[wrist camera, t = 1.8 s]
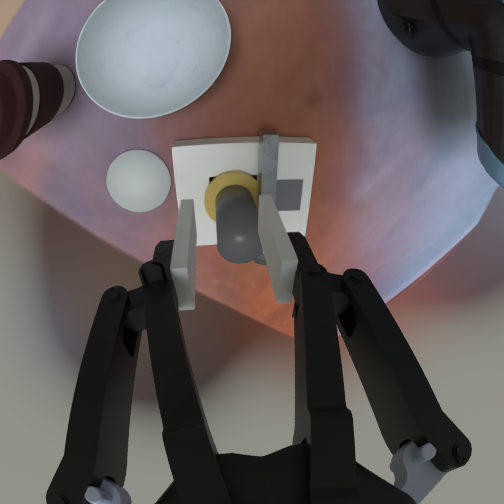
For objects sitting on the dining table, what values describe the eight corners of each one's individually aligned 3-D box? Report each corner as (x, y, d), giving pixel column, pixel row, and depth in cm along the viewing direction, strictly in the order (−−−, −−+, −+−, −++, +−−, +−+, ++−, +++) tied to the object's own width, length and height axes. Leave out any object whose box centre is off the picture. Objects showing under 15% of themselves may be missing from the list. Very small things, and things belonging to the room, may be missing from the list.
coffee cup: (86, 119, 27) (21, 159, 16) (29, 131, 26) (-39, 176, 14) (86, 47, 21) (14, 47, 10) (26, 65, 20) (-50, 84, 8)
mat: (167, 145, 32) (166, 146, 31) (174, 207, 37) (174, 209, 37) (102, 154, 31) (101, 155, 30) (114, 213, 36) (114, 215, 36)
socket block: (309, 137, 33) (320, 147, 30) (299, 227, 42) (307, 244, 39) (174, 140, 31) (169, 150, 28) (185, 234, 40) (183, 252, 37)
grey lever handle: (273, 252, 38) (276, 263, 36) (249, 253, 38) (252, 265, 36) (281, 129, 28) (287, 135, 26) (252, 129, 28) (255, 134, 26)
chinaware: (95, 105, 27) (67, 117, 20) (117, -5, 18) (93, -19, 12) (211, 114, 30) (211, 127, 24) (240, 3, 22) (248, -14, 16)
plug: (259, 161, 35) (282, 209, 25) (257, 209, 39) (276, 270, 29) (203, 163, 34) (200, 213, 24) (206, 212, 38) (206, 275, 28)
